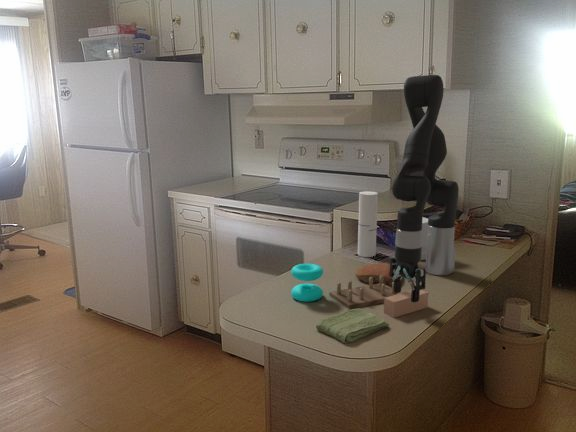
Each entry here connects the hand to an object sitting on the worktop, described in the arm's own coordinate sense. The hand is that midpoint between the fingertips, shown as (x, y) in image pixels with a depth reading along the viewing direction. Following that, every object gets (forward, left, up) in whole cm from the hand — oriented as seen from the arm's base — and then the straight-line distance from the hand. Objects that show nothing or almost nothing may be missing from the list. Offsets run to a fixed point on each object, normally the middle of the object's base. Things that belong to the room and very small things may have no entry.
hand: (405, 297), depth 161 cm
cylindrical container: (-20, -53, -4) cm, 57 cm away
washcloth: (+21, +4, -5) cm, 22 cm away
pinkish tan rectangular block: (0, 0, -5) cm, 5 cm away
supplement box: (-37, -42, -5) cm, 56 cm away
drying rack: (+5, -14, -4) cm, 15 cm away
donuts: (+22, -22, -5) cm, 31 cm away
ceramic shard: (-9, -28, -5) cm, 30 cm away
